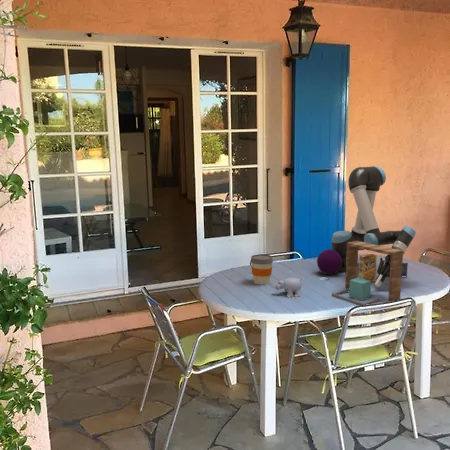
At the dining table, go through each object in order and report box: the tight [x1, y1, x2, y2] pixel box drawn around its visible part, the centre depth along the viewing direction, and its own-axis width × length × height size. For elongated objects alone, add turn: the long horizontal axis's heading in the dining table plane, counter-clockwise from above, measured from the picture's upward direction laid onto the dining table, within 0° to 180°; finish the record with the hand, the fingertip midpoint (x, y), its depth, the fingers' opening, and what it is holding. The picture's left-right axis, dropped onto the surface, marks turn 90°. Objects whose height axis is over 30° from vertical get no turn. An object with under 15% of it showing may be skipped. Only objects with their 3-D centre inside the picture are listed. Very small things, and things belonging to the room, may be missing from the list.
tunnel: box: [344, 241, 404, 302], centre depth 260 cm, size 29×8×26 cm, turn 37°
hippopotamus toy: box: [274, 275, 304, 298], centre depth 261 cm, size 11×15×10 cm
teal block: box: [348, 277, 372, 302], centre depth 255 cm, size 8×7×9 cm
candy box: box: [358, 253, 378, 282], centre depth 282 cm, size 9×4×15 cm, turn 107°
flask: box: [402, 261, 409, 277], centre depth 289 cm, size 9×3×11 cm, turn 88°
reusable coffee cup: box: [250, 253, 274, 286], centre depth 281 cm, size 13×13×15 cm
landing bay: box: [331, 288, 381, 306], centre depth 254 cm, size 20×13×1 cm, turn 37°
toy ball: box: [316, 248, 342, 275], centre depth 296 cm, size 15×15×15 cm
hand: (376, 285), depth 265 cm, fingers closed
